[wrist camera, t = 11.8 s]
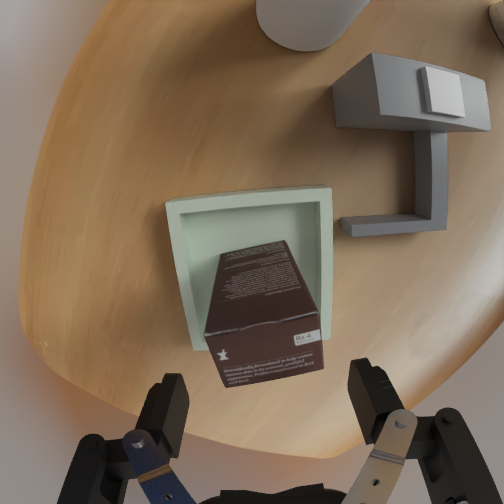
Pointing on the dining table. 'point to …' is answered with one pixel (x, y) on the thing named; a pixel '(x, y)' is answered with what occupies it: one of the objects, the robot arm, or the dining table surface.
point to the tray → (250, 242)
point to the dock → (411, 128)
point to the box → (262, 317)
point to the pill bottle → (307, 21)
